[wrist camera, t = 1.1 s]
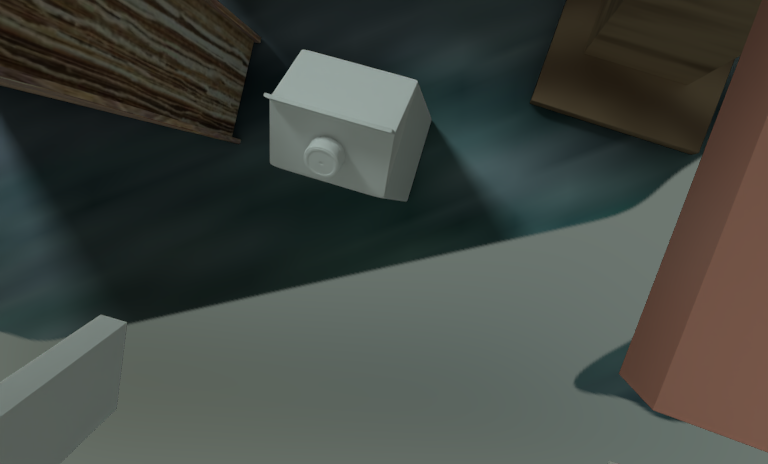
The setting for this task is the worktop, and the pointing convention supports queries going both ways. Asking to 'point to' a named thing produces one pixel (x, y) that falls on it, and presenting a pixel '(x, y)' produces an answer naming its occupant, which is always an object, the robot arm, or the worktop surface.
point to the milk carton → (348, 125)
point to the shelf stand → (644, 65)
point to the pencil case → (716, 275)
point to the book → (131, 58)
